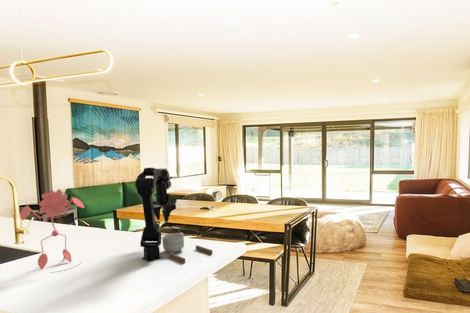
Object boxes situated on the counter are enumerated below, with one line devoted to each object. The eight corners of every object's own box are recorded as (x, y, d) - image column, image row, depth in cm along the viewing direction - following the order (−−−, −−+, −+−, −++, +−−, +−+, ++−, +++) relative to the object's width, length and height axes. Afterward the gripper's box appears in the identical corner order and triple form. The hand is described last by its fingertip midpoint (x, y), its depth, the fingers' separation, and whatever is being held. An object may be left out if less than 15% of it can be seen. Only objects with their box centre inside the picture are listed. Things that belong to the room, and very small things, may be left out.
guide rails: (183, 263, 155) (183, 259, 155) (168, 257, 164) (168, 253, 164) (212, 254, 167) (212, 250, 167) (197, 249, 176) (197, 245, 176)
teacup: (172, 256, 166) (172, 239, 166) (158, 252, 173) (157, 236, 172) (193, 248, 177) (192, 233, 177) (178, 245, 184) (177, 230, 184)
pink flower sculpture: (20, 269, 152) (17, 191, 150) (81, 256, 170) (78, 185, 168) (28, 280, 141) (24, 195, 139) (92, 264, 158) (90, 188, 156)
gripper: (184, 191, 181) (185, 221, 182) (165, 188, 195) (166, 215, 196) (165, 194, 174) (167, 225, 174) (147, 191, 187) (148, 219, 188)
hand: (162, 221), depth 183 cm, fingers open, 8 cm apart
